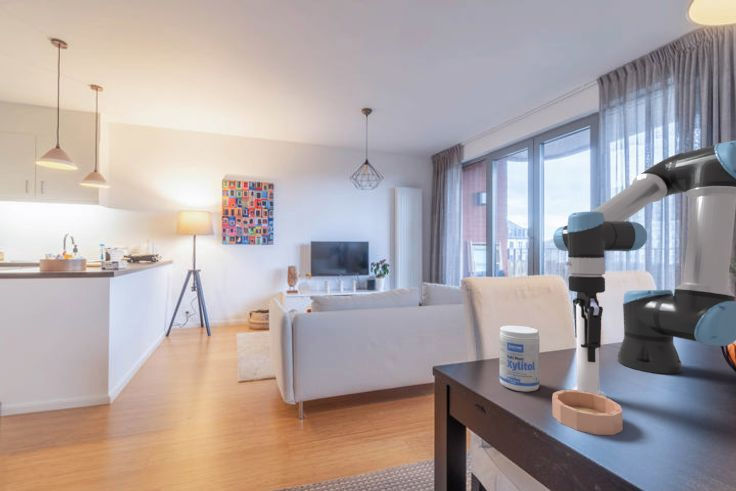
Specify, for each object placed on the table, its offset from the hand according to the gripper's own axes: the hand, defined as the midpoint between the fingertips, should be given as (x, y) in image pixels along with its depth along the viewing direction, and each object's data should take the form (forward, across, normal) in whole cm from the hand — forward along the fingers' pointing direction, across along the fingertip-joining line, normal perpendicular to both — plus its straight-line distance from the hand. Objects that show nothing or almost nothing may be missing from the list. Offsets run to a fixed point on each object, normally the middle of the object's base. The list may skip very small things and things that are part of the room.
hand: (587, 372), depth 83 cm
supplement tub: (+6, -2, -15) cm, 16 cm away
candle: (+6, 0, 0) cm, 6 cm away
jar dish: (+5, +14, -5) cm, 15 cm away
